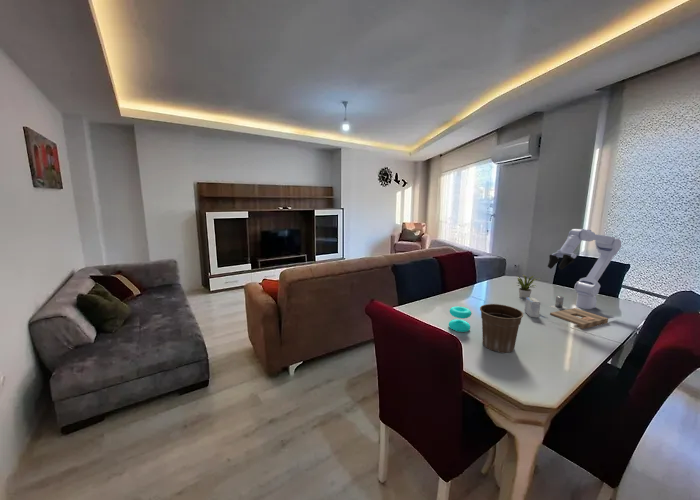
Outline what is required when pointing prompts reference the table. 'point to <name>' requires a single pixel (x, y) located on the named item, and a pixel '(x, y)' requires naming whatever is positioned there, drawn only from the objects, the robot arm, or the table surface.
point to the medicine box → (532, 307)
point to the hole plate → (583, 323)
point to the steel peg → (559, 302)
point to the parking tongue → (558, 308)
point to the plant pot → (500, 326)
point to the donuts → (457, 323)
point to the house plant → (525, 287)
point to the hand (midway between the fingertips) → (554, 268)
